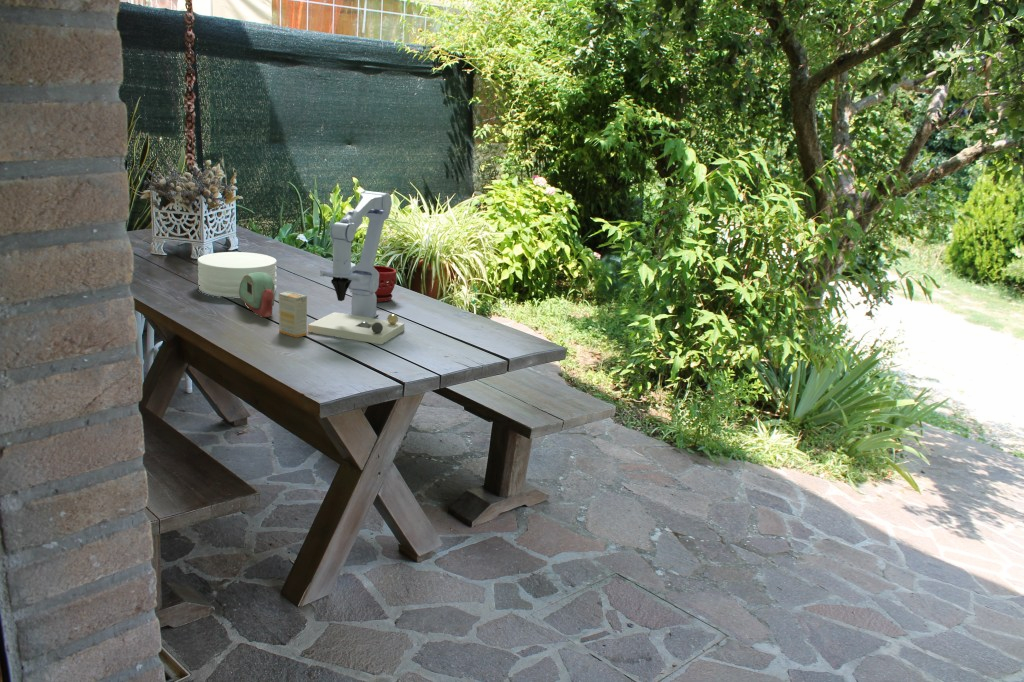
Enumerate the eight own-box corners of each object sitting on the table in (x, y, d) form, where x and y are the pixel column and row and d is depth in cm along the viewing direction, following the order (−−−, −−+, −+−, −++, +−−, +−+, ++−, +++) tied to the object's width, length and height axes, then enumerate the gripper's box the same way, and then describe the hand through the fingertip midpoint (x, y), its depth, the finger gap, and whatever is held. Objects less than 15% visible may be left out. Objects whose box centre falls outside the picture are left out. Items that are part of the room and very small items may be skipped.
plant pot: (382, 305, 317) (383, 274, 314) (353, 299, 322) (354, 268, 319) (401, 299, 329) (403, 268, 325) (373, 293, 334) (374, 263, 330)
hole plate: (334, 319, 295) (334, 312, 294) (404, 330, 289) (404, 323, 288) (307, 331, 278) (307, 324, 278) (381, 344, 272) (381, 336, 271)
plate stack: (261, 278, 342) (261, 250, 339) (287, 295, 320) (287, 265, 317) (189, 283, 326) (188, 253, 323) (211, 301, 305) (210, 269, 301)
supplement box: (307, 335, 275) (307, 295, 271) (295, 338, 271) (296, 298, 268) (290, 329, 280) (290, 290, 276) (278, 332, 276) (278, 292, 272)
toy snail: (237, 302, 305) (236, 264, 301) (258, 301, 310) (258, 263, 306) (259, 321, 286) (259, 281, 282) (281, 319, 290) (281, 279, 286)
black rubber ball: (374, 330, 277) (374, 320, 276) (384, 332, 276) (384, 322, 275) (369, 333, 274) (370, 323, 273) (379, 335, 273) (380, 324, 272)
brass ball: (389, 322, 288) (390, 312, 287) (399, 323, 287) (399, 313, 286) (385, 324, 285) (385, 314, 284) (395, 326, 284) (395, 316, 283)
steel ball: (371, 332, 284) (363, 331, 286) (372, 321, 284) (363, 321, 285) (365, 332, 281) (356, 331, 282) (365, 321, 281) (357, 321, 282)
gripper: (315, 258, 276) (315, 299, 280) (356, 264, 273) (355, 306, 277) (326, 255, 283) (325, 295, 287) (366, 260, 279) (365, 301, 283)
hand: (341, 300), depth 282 cm, fingers closed
